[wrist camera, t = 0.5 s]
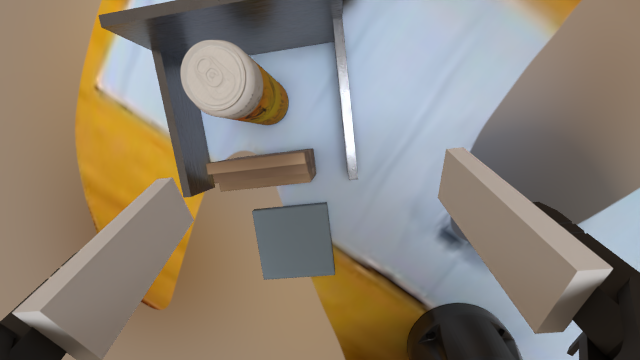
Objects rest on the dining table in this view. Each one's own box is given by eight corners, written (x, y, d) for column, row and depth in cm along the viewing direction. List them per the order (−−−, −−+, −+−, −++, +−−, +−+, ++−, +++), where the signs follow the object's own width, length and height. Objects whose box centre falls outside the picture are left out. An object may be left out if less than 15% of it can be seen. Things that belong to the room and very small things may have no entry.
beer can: (267, 134, 35) (213, 131, 20) (238, 101, 34) (160, 73, 19) (298, 104, 33) (265, 78, 19) (268, 70, 33) (211, 15, 18)
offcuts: (316, 173, 35) (308, 185, 26) (243, 181, 36) (212, 195, 27) (313, 148, 34) (303, 152, 26) (239, 157, 36) (205, 163, 27)
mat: (335, 271, 37) (334, 274, 36) (265, 275, 38) (263, 279, 37) (326, 202, 36) (326, 204, 35) (254, 209, 37) (252, 211, 36)
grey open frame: (354, 172, 34) (362, 189, 23) (208, 187, 37) (146, 211, 25) (341, 31, 31) (341, -32, 20) (183, 58, 34) (98, 15, 22)
